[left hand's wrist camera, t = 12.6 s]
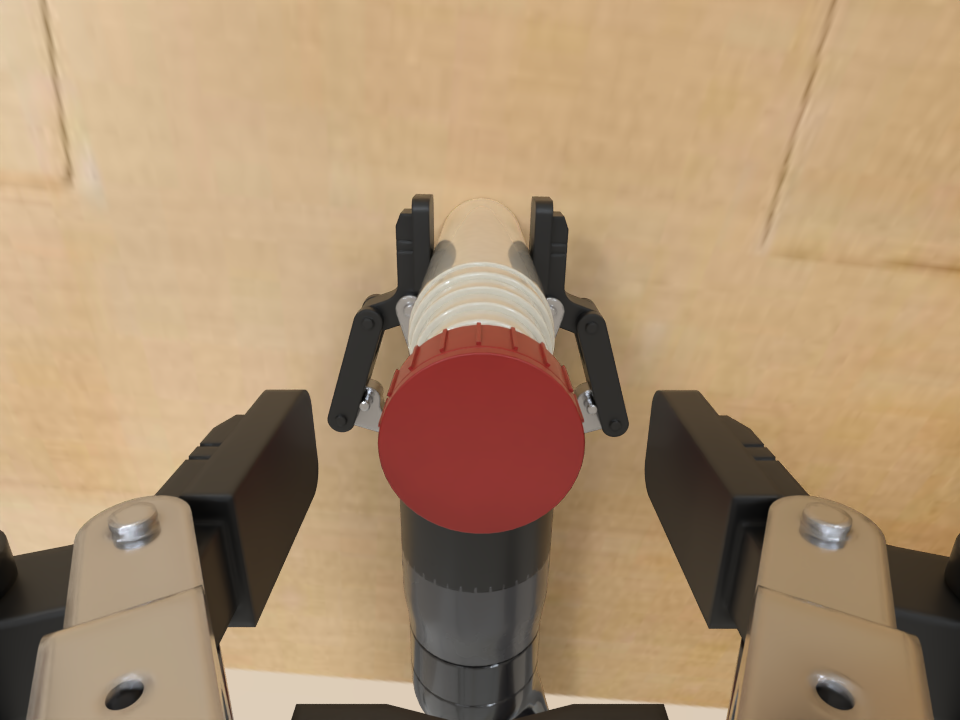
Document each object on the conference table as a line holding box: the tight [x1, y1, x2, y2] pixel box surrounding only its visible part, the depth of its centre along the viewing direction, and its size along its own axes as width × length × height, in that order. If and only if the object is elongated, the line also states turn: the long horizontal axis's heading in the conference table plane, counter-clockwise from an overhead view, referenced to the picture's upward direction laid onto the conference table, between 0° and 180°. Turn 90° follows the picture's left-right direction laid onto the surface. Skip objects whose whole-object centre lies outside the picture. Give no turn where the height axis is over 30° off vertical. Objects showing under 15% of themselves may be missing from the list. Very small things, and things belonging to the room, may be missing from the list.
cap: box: [378, 322, 585, 534], centre depth 12 cm, size 4×4×2 cm
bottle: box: [408, 198, 555, 355], centre depth 21 cm, size 4×4×21 cm
